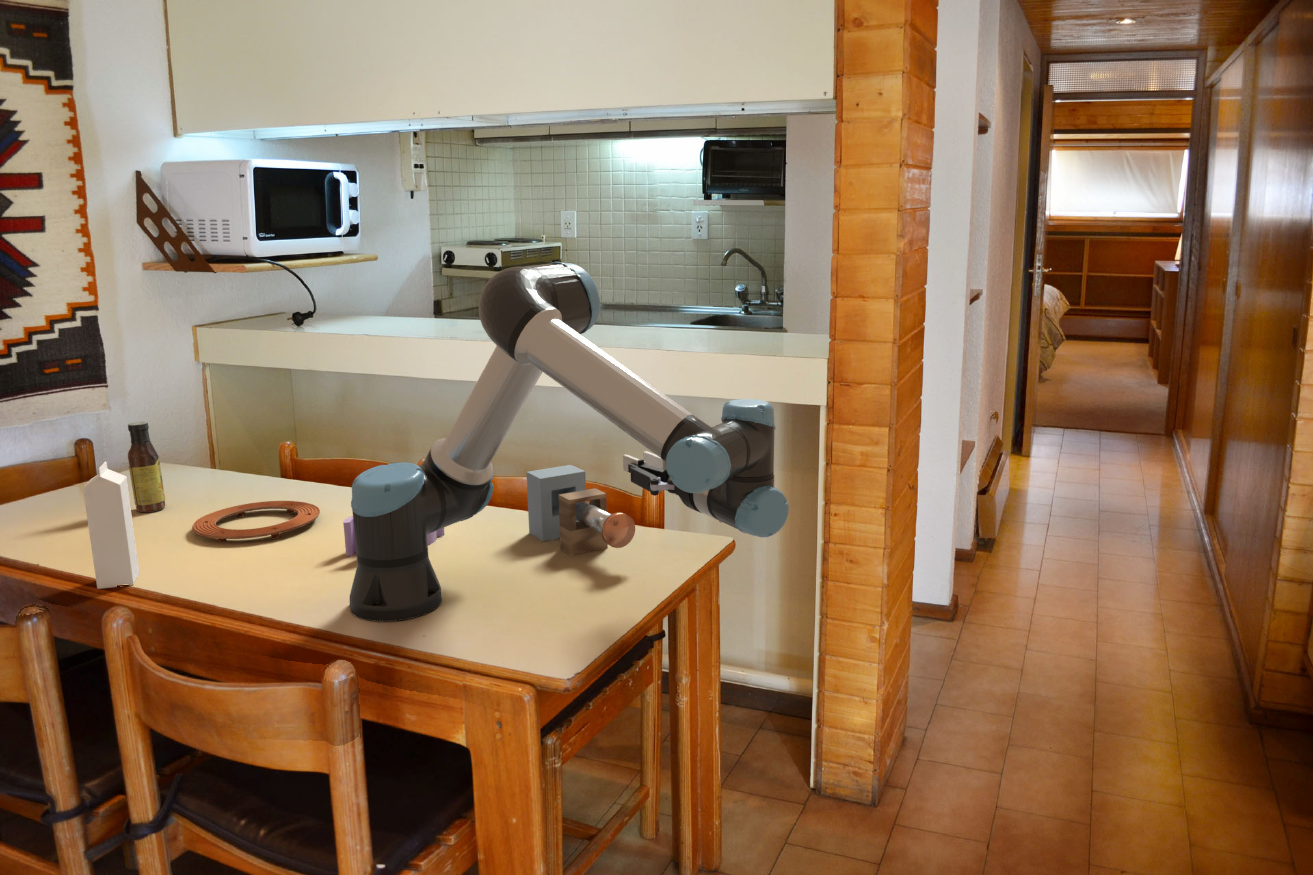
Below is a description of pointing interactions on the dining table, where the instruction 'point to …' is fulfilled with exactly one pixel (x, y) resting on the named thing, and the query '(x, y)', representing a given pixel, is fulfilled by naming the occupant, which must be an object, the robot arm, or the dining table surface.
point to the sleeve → (576, 533)
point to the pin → (607, 524)
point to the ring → (210, 529)
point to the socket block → (550, 498)
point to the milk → (111, 529)
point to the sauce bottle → (145, 470)
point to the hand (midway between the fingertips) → (635, 460)
